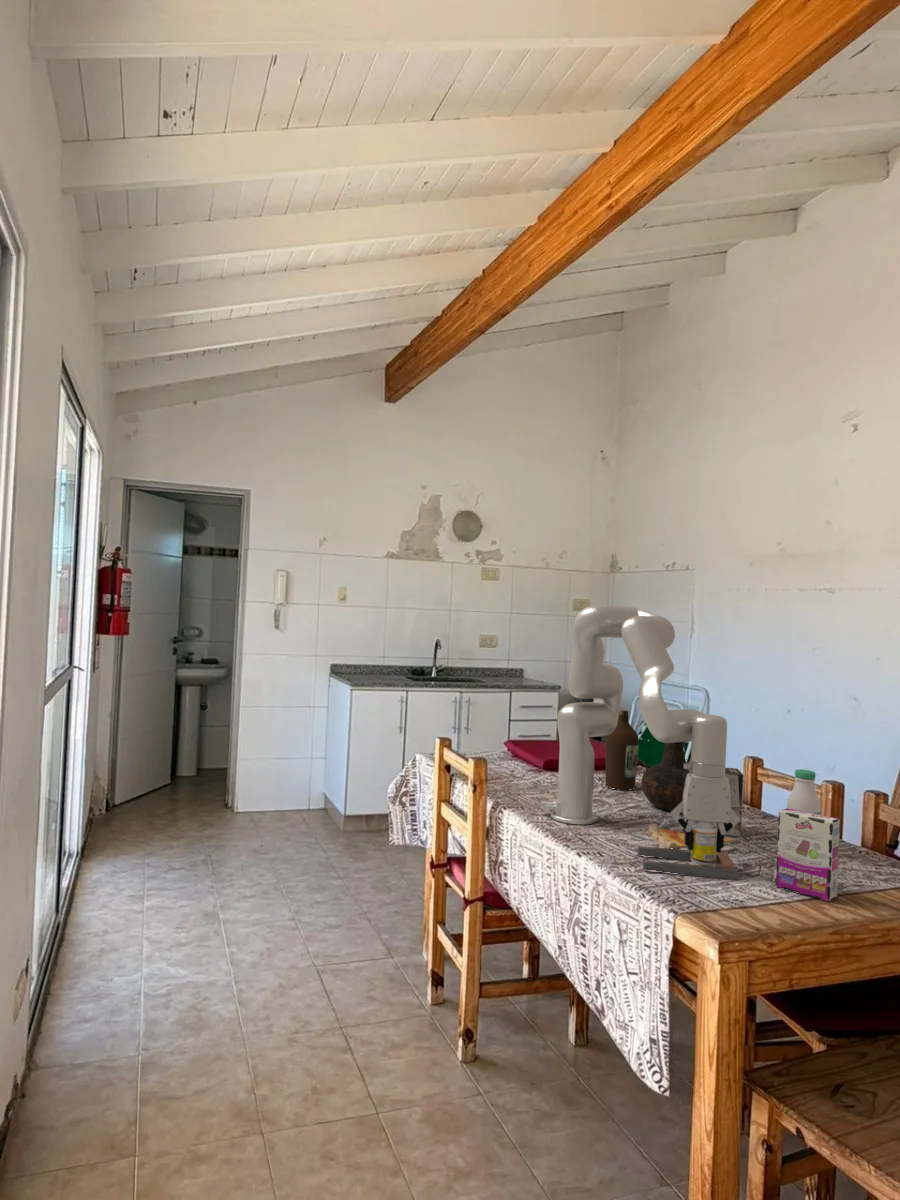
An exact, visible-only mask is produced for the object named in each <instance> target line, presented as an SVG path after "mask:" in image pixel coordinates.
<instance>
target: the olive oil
mask: <svg viewBox="0 0 900 1200" xmlns="http://www.w3.org/2000/svg"><path fill="white" fill-rule="evenodd" d="M639 746H640V740H639V736H638V733H637V732H636V730H635V728H633V726H632V724H630V722H629V710H627V709H620V711H619V717H618V722H617V726H616V728H615V730H614V731H613V732H612V733H611V734H609V735H606V736H605V746H604V747H605V782H604V783H605V785H606V786H608V787H611V788H615V789H619V790H618V791H622V790H629V789H633V788H636V777H637V776H638V775H637V773H638V770H637V767H638V756H639V755H638V754H639V748H640V747H639ZM606 786H605V787H606ZM629 791H630V790H629Z"/></svg>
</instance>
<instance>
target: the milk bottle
mask: <svg viewBox="0 0 900 1200" xmlns="http://www.w3.org/2000/svg"><path fill="white" fill-rule="evenodd" d="M794 776H795V777H794V779H795V781H794V782H795V783H794V786H793V788H792V790H791V792H790V794H789V796H788V798H787V803H786V809H787V808H789V809H794V810H799V811H804V812H808V813H813V814H818V815H822V814H821V802H820V799H819V797H818V793H817V791H816V788H815V782H816V772H815V771H813V770H809V769H796V770H795V771H794Z"/></svg>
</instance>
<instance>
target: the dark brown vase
mask: <svg viewBox="0 0 900 1200" xmlns="http://www.w3.org/2000/svg"><path fill="white" fill-rule="evenodd" d="M662 754H663V755H662V759H661V761H660V763H658V764H655V765H652V766H650V767H648V768H647V769H646V770H645V771H644V772H643V775H642V777H641V781H640V782H641V789H642V792H643V794H644V796H645V797H646V799H647V800H648V802H650V803H651V805H653V806H654V807H655V808H658V809H660V810H661V809H662V810H666V811H671V812H672V811H673V810H674V809H675V808H676V807H677V806H678V805H679V804H680V803H681V802H682V798H683V791H684V785H685V780H686V776H687V773H690V771H689V770H687V769H684V763H687V760H686V757H685V749H684V742H675V743H664V750H663V753H662Z"/></svg>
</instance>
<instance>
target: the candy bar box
mask: <svg viewBox="0 0 900 1200" xmlns="http://www.w3.org/2000/svg"><path fill="white" fill-rule="evenodd" d="M777 819H778V822H777V824H778V825H777V832H778V833H777V850H776V851H777V852H776V875H775V877H776V878H775V887H776V886H777V887H776V888H778V887H780V888H779V889H781V888H784V889H783V890H785V889H788V890H791V891H790V892H792V891H795V892H798V893H797V894H799V893H801V894H800V895H802V894H804V895H803V896H806V895H807V897H809V896H810V897H809V898H813V897H814V898H813V899H816V898H818V899H817V900H820V899H822V900H821V901H823V900H826V901H825V902H827V901H830V900H832V899H833V900H835V899H836V898H835V897H838V893H839V891H838V890H839V862H840V861H839V860H840V857H839V856H840V839H841V838H840V837H841V836H840V835H841V834H840V833H841V831H840V830H841V819H840V818H836V817H831V816H827V815H823V814H821V815H818V814H813V813H808V812H804V811H799V810H794V809H789V808H787V807H786V808H784V809H782V810H779V811H778V818H777ZM788 890H787V891H788ZM795 892H794V893H795ZM834 898H835V899H834ZM833 900H832V901H833ZM830 902H831V901H830Z"/></svg>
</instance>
